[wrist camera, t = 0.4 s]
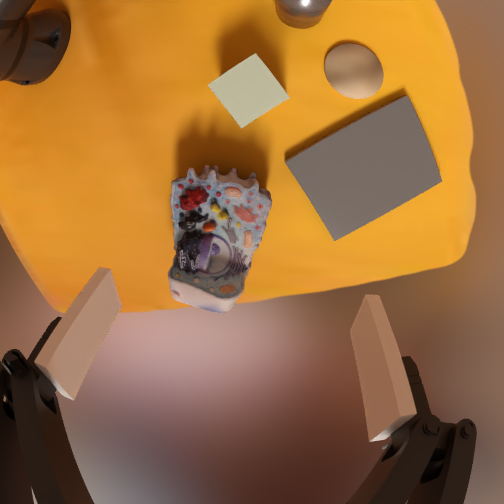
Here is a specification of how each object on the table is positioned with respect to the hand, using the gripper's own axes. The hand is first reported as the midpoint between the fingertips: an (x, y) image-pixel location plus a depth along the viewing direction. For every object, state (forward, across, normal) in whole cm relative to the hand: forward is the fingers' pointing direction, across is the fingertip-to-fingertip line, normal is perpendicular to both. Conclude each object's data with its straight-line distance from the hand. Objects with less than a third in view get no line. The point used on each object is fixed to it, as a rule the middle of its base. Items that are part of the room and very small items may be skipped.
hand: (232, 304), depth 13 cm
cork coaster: (+27, +11, +15) cm, 33 cm away
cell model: (+27, -5, -10) cm, 29 cm away
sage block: (+27, -1, +10) cm, 29 cm away
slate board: (+27, +16, +2) cm, 31 cm away
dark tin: (+27, +4, +23) cm, 36 cm away
